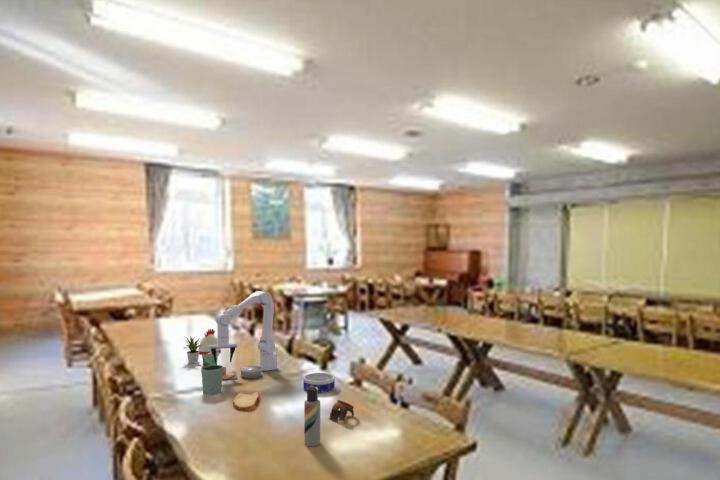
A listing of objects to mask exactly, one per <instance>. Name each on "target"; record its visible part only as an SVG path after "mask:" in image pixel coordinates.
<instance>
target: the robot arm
mask: <svg viewBox="0 0 720 480" xmlns="http://www.w3.org/2000/svg"><path fill="white" fill-rule="evenodd" d="M272 298H273V296H272V295H271V293H269V292H268V291H260V290H255V292H253V293H251V294H250V295H249V296H248V297H247V298H245V299H244V300H243V301H241V302H240V303H239V304H237V305H236V304H235V305H231V306H230V307H229V308H228V309H227V310H223V312H222V313H219V314H217V316H216V318H215V323H216V324H217V339H218V344H217V345H209V350H211V352H212V354H213V356H214V360H215V363H216V349H221V350H222V349H223V350H224V349H229V355H230V356H229V363H231V362H232V361H233V355H234V354H235V352H236V349H238V343H230V342H229V339H230V338H229V335H230V333H229V332H230V331H229V330H230V329H229V325H230V324H231V321H232V320H234V319H235V318H236V317H238V316H239V315H240V314H241V313H242V311H243V310H244V309H246V308H248V307H249V306H251V305H252V304H260V305H261V306H262V307H263V317H262V318H263V321H262V333H261V336H260V337H259V342H258V344H257V350H258V351H259V366H260V367H262V372H264V371H275V370H278V355H277V352H275V350H276V345H275V339H274V337H273V327H274V326H273V325H274V312H275V304H274V301H273V299H272Z"/></svg>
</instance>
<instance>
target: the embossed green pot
mask: <svg viewBox="0 0 720 480" xmlns="http://www.w3.org/2000/svg"><path fill="white" fill-rule="evenodd" d="M200 371H201V385H202V394H203V395H205V396H215V395H219V394H220V393H222V389H223V388H222V387H223V384H222V383H223V380H222V373H223V365H221V364H217V365H208V366H204V367H203V366H201V368H200Z"/></svg>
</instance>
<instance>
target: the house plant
mask: <svg viewBox="0 0 720 480" xmlns="http://www.w3.org/2000/svg"><path fill="white" fill-rule="evenodd" d="M195 336H196V335H194V336H193V338H192V337H191V335H190V336H189V337H190V339H189V338H188V337H186V336H183V337H185V338H186V341H187V344H186V345H185V346H184V347H183V350H184V349H188V351H187V352H186V354H187V356H186V357H187V360H188V363H189V364H196V363H198V362H199V357H200V354H199V351H198V349H199V346H201V345H200V341H201V340H202V339H203V338H202V339H200V338H198V339H196V340H195V341H194V339H195ZM199 340H200V341H199ZM202 347H203V346H202Z"/></svg>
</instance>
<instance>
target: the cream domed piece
mask: <svg viewBox="0 0 720 480" xmlns="http://www.w3.org/2000/svg"><path fill="white" fill-rule="evenodd" d="M205 332H206V333H204V336H203V337H202V340H201V339H200V340H201V341H200V342H199V345H201V346H199V347H198V348H197V351H199V355H202V354H207V353H210V352H211V350H209V345H217V344H218V337H216V336H215V333H216V330H215V329H214V328H210V329H207V331H205ZM202 346H203V347H202ZM216 350H217V351H218V352H219V353H221V352H222V349H216Z"/></svg>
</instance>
